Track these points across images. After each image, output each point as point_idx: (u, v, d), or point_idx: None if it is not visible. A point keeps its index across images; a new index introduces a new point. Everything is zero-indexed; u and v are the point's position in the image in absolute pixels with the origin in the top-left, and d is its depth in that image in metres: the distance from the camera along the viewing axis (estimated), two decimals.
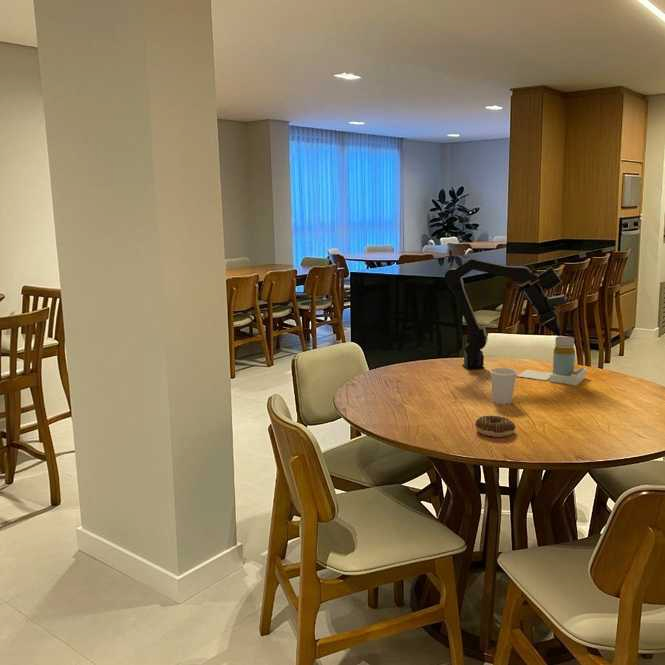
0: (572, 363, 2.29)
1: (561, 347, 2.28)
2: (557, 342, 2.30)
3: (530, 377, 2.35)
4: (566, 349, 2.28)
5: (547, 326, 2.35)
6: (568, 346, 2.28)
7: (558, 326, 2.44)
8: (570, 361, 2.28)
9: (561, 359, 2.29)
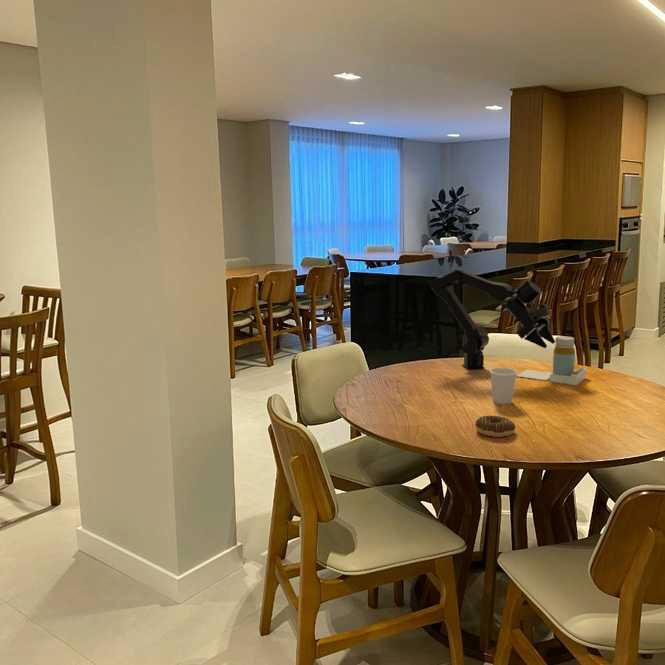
0: (572, 363, 2.29)
1: (561, 347, 2.28)
2: (557, 342, 2.30)
3: (530, 377, 2.35)
4: (566, 349, 2.28)
5: (530, 340, 2.31)
6: (568, 346, 2.28)
7: (552, 338, 2.37)
8: (570, 361, 2.28)
9: (561, 359, 2.29)
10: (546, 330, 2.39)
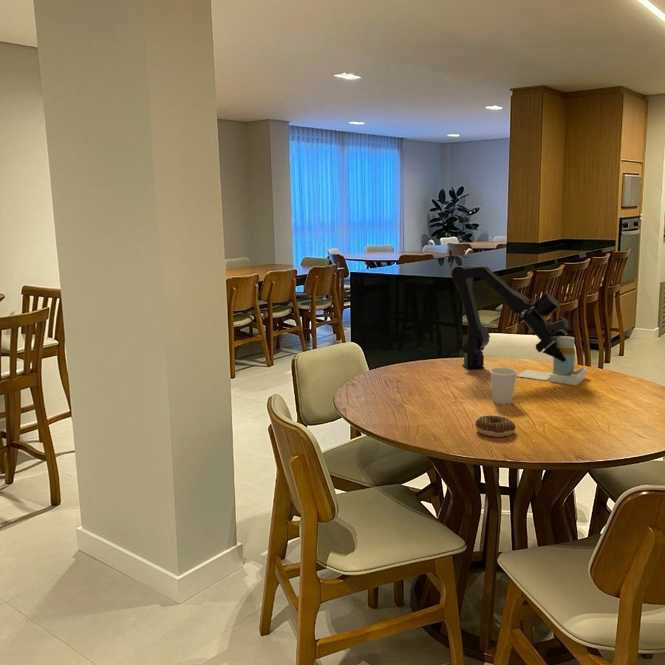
0: (572, 363, 2.29)
1: (561, 346, 2.28)
2: (557, 342, 2.30)
3: (530, 377, 2.35)
4: (566, 349, 2.28)
5: (549, 353, 2.29)
6: (569, 346, 2.28)
7: None
8: (570, 361, 2.28)
9: None
10: None
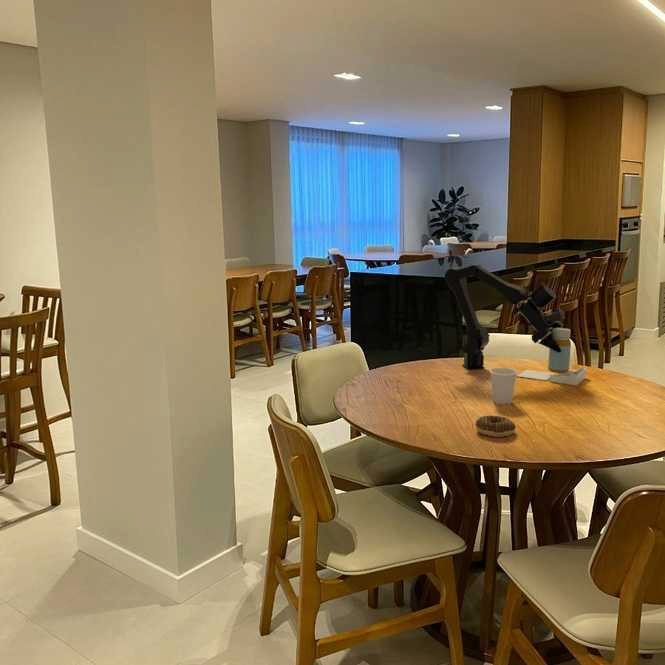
0: (568, 355, 2.29)
1: (557, 338, 2.29)
2: (553, 334, 2.30)
3: (530, 377, 2.35)
4: (562, 341, 2.28)
5: (544, 344, 2.29)
6: (564, 338, 2.28)
7: None
8: (566, 353, 2.29)
9: None
10: None
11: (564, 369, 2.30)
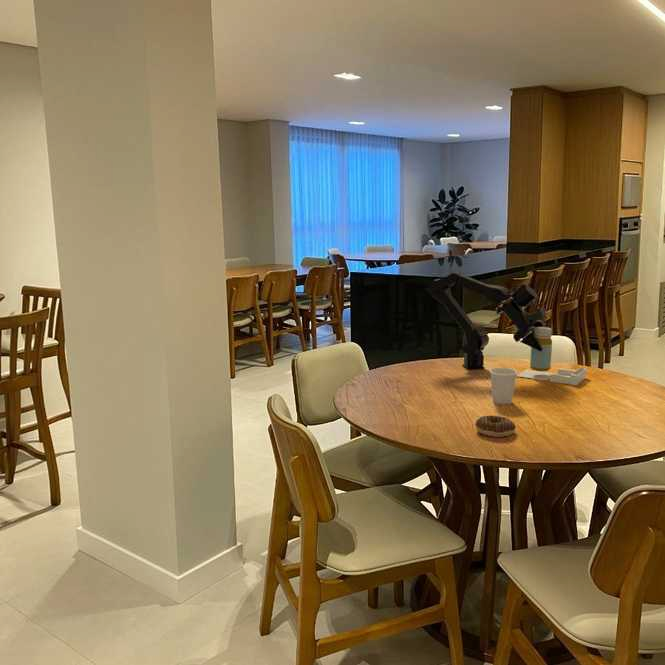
0: (549, 353, 2.33)
1: (538, 337, 2.33)
2: (535, 332, 2.34)
3: (530, 377, 2.35)
4: (543, 339, 2.32)
5: (526, 343, 2.33)
6: (546, 336, 2.32)
7: None
8: (547, 351, 2.33)
9: None
10: None
11: (546, 367, 2.34)
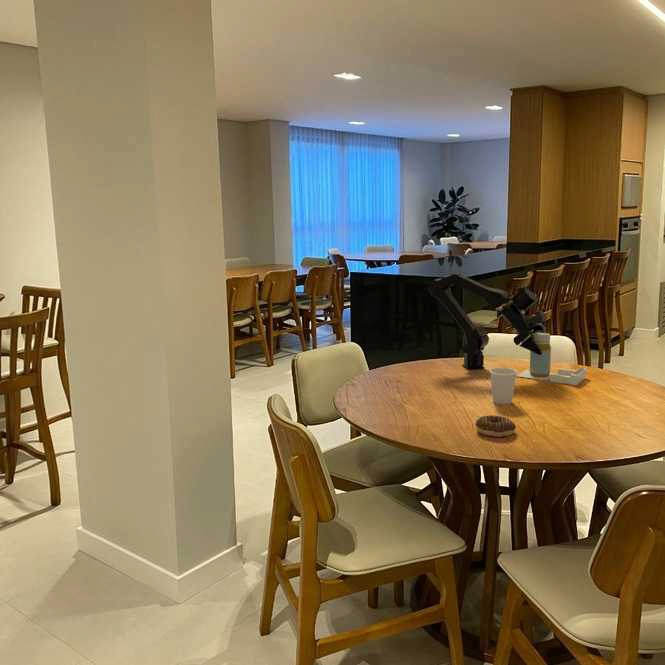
0: (548, 359, 2.34)
1: (537, 343, 2.33)
2: None
3: (530, 377, 2.35)
4: (542, 345, 2.33)
5: (525, 346, 2.32)
6: (544, 342, 2.33)
7: None
8: (546, 357, 2.33)
9: (537, 355, 2.33)
10: None
11: (545, 372, 2.34)
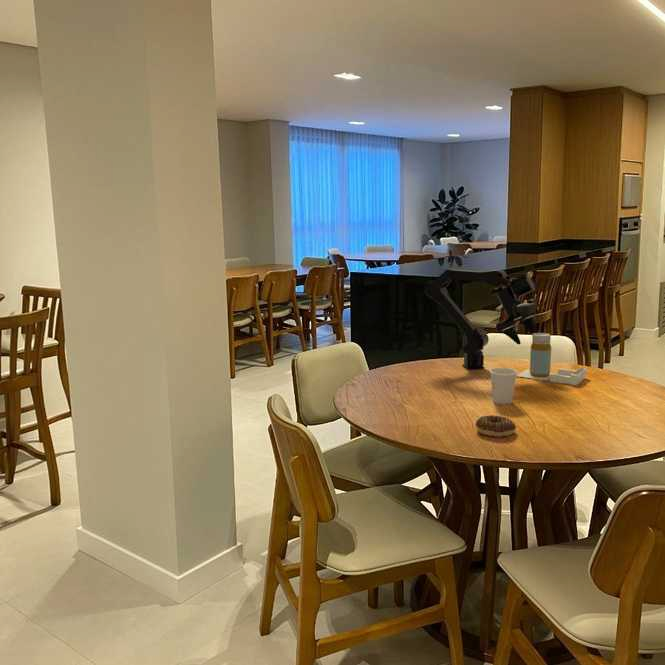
0: (548, 359, 2.34)
1: (537, 343, 2.33)
2: (534, 338, 2.34)
3: (530, 377, 2.35)
4: (542, 345, 2.33)
5: (506, 333, 2.38)
6: (545, 342, 2.33)
7: (533, 331, 2.42)
8: (546, 357, 2.33)
9: (537, 355, 2.33)
10: (530, 322, 2.43)
11: (545, 373, 2.34)
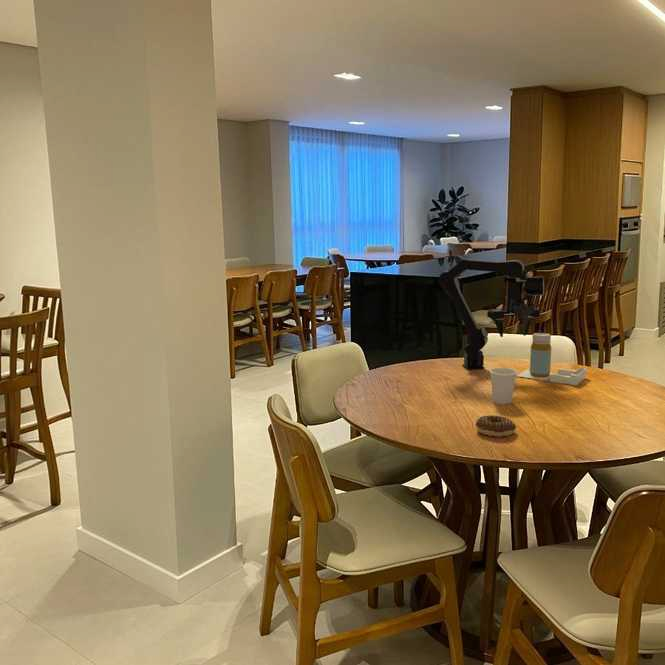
0: (548, 359, 2.34)
1: (537, 343, 2.33)
2: (534, 338, 2.34)
3: (530, 377, 2.35)
4: (542, 345, 2.33)
5: (495, 322, 2.44)
6: (545, 342, 2.33)
7: (524, 331, 2.45)
8: (546, 357, 2.33)
9: (537, 355, 2.33)
10: (526, 322, 2.44)
11: (545, 373, 2.34)
